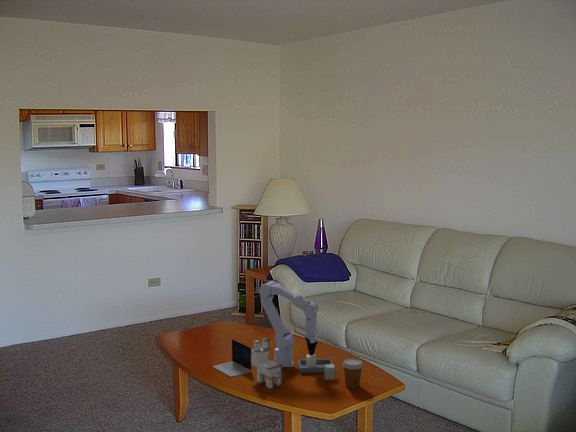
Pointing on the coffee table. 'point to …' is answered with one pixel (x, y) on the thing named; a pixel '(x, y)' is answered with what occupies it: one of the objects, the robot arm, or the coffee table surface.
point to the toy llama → (265, 364)
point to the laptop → (237, 360)
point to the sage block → (329, 371)
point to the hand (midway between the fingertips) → (310, 352)
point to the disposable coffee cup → (352, 372)
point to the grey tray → (310, 370)
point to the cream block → (310, 360)
